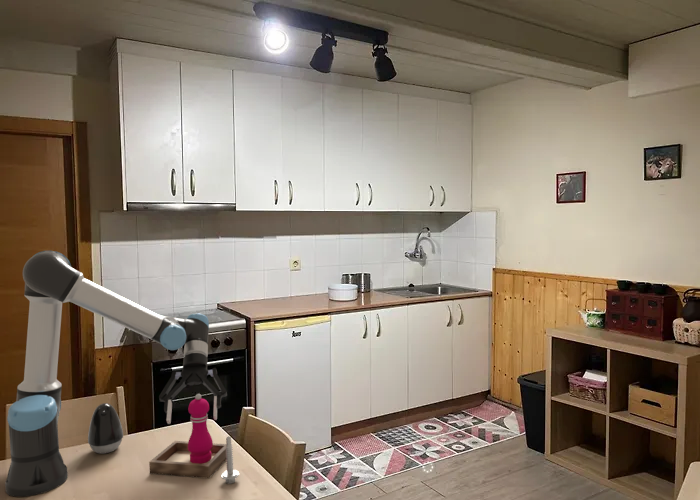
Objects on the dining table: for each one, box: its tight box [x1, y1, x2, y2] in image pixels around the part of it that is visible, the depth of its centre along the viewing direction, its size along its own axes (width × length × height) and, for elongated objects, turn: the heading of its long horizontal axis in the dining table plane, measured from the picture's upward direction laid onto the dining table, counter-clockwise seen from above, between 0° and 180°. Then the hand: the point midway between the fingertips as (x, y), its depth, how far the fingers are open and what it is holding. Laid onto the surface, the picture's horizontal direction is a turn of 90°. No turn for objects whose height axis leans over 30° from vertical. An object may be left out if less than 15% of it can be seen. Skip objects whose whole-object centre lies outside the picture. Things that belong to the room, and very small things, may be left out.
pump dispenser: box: [87, 402, 124, 455], centre depth 170 cm, size 10×10×15 cm
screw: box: [220, 436, 240, 485], centre depth 148 cm, size 13×5×5 cm
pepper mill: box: [187, 393, 214, 464], centre depth 160 cm, size 7×7×20 cm
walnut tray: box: [148, 440, 227, 479], centre depth 160 cm, size 18×14×4 cm
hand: (191, 420), depth 161 cm, fingers open, 13 cm apart
